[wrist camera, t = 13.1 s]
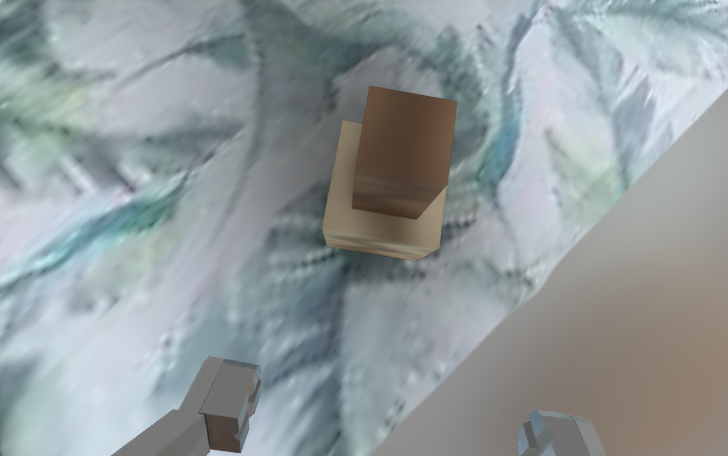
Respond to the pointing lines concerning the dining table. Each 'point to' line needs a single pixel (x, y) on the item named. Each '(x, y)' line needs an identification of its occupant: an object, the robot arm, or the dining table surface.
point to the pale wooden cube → (369, 227)
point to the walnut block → (403, 152)
